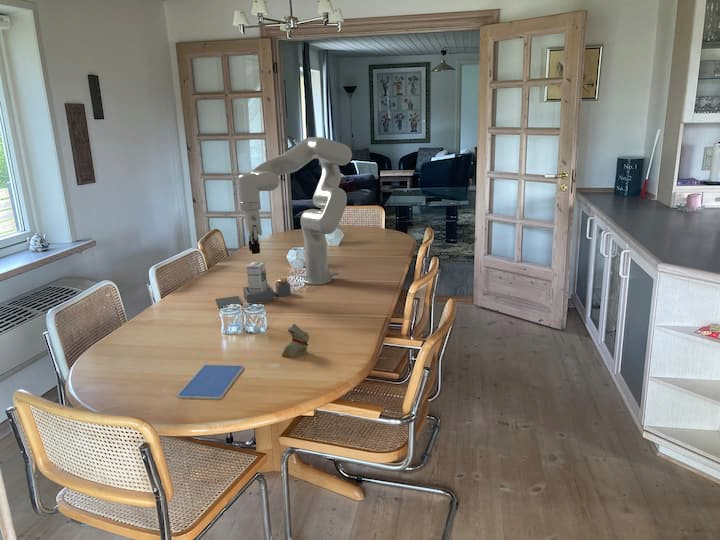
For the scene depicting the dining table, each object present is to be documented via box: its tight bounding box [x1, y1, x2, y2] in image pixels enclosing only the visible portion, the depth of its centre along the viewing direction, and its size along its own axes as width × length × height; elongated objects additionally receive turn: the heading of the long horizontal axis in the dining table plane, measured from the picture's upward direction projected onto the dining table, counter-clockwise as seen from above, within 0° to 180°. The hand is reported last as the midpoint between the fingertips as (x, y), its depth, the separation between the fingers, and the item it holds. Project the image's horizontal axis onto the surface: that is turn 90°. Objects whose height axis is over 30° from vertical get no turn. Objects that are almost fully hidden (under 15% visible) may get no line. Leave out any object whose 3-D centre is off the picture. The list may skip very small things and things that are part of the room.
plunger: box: [276, 277, 288, 285], centre depth 231 cm, size 4×4×6 cm
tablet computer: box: [176, 364, 245, 401], centre depth 159 cm, size 19×13×1 cm, turn 172°
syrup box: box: [245, 261, 268, 293], centre depth 227 cm, size 6×6×14 cm
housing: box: [242, 280, 292, 304], centre depth 230 cm, size 18×11×5 cm, turn 109°
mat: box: [215, 295, 243, 309], centre depth 225 cm, size 9×11×1 cm
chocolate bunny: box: [281, 323, 310, 358], centre depth 174 cm, size 6×8×10 cm
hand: (254, 251), depth 224 cm, fingers open, 5 cm apart
